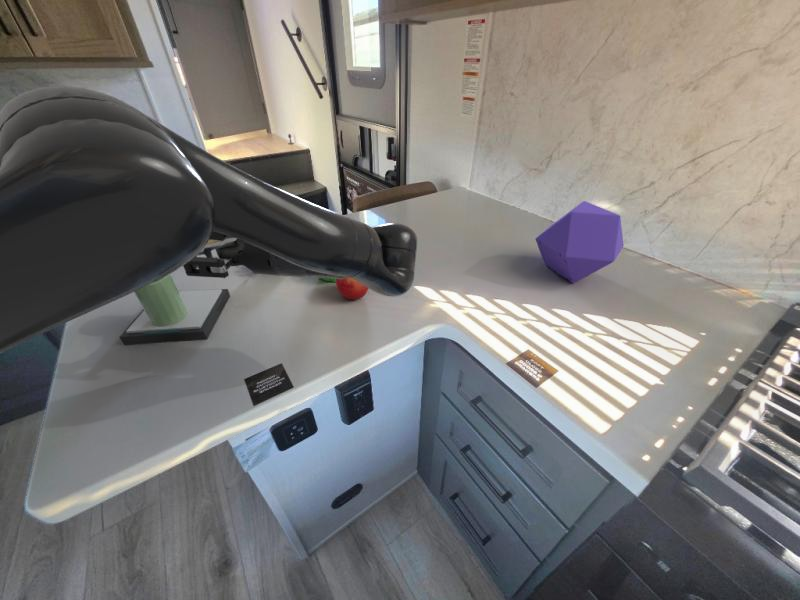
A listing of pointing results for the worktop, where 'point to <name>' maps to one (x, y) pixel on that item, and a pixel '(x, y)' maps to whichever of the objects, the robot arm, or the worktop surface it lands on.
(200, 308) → the scale
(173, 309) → the tumbler
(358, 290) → the apple
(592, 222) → the purple polyhedron
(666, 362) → the worktop surface
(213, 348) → the worktop surface
